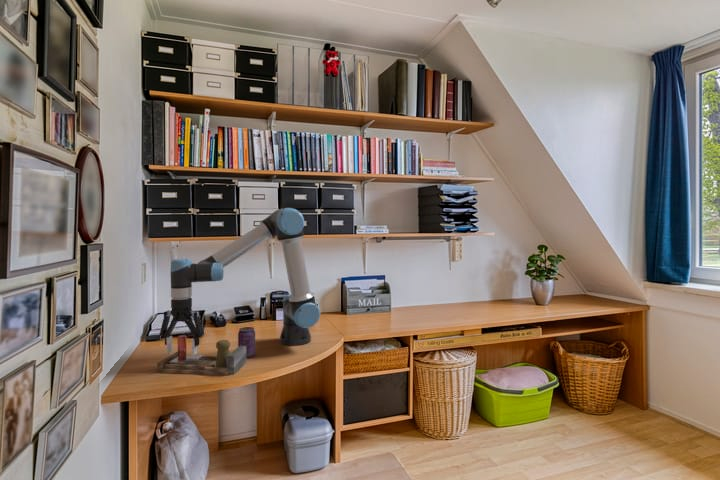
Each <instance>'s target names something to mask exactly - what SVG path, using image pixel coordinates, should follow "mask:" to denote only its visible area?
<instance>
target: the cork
mask: <svg viewBox="0 0 720 480" xmlns="http://www.w3.org/2000/svg"><path fill="white" fill-rule="evenodd" d="M215 347H216V349H217V352H216V356H217V359H216V366H215V367H221V368H226V356H227V355H228V354H229V353H230V349H229V348H230V347H231V343H230V341H229V339H219V340H218V341H217V342H216V344H215Z"/></svg>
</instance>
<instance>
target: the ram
mask: <svg viewBox="0 0 720 480" xmlns="http://www.w3.org/2000/svg"><path fill="white" fill-rule="evenodd" d="M177 351H178V357H177V358H175V359H173V360H172V361H170V362H169V364H182V365H200V364H202V363H203V362H204V356H205V354H197V353H196V354H195V355H192V354H188V353H187V351H188V350H187V335H186V334H181V335H178V336H177Z"/></svg>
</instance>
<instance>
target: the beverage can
mask: <svg viewBox="0 0 720 480" xmlns="http://www.w3.org/2000/svg"><path fill="white" fill-rule="evenodd" d="M237 333H238V334H237V347H239V346H246V359H250V358H253V357H254V356H256V332H255V328H254V327H253V326H245V327H240V328H239V329H238V332H237Z"/></svg>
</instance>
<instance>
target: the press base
mask: <svg viewBox="0 0 720 480" xmlns="http://www.w3.org/2000/svg"><path fill="white" fill-rule="evenodd" d="M177 357H178V350H177V351H176V352H174V353H173V354H171V355H168V356H167V357H166V358H165V357H164V359H162V360H160V361H158V362H157V363H156V364H157V365H156V367H157V368H156V372H157V373H163V374H164V373H165V374H189V375H211V376H213V375H214V376H229V375H235V374H237V373H238V371H240V370H241V369H242V368H243V367H244V366H245V365H246V364H247V358H246V346H239V347H238V346H237V347H236V348H235V349H233V350H232V351H231V352H229V354H228V355H227V356H226V368H221V367H216V359H217V355H204V362H203V363H202V364H200V365H182V364H169V362H170V361H172V360H173V359H175V358H177Z"/></svg>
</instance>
